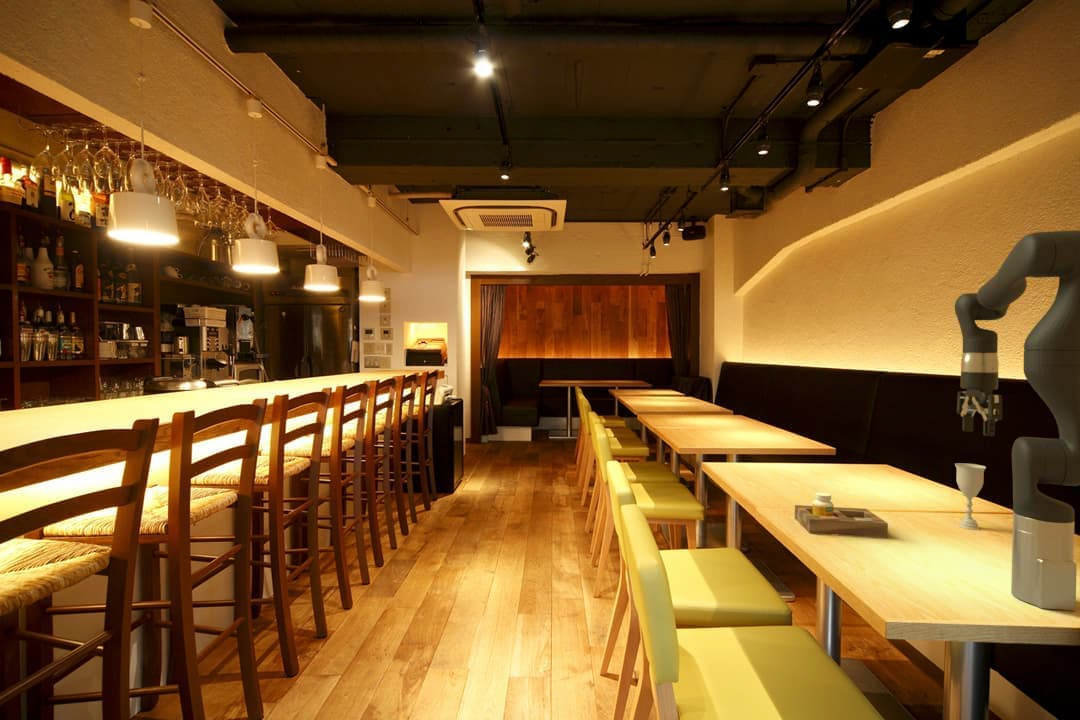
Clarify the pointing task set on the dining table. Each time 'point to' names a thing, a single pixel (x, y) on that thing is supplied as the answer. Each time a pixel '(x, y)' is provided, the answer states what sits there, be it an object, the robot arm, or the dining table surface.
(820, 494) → the supplement bottle
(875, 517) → the socket block
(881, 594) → the dining table surface
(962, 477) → the chalice
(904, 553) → the dining table surface
